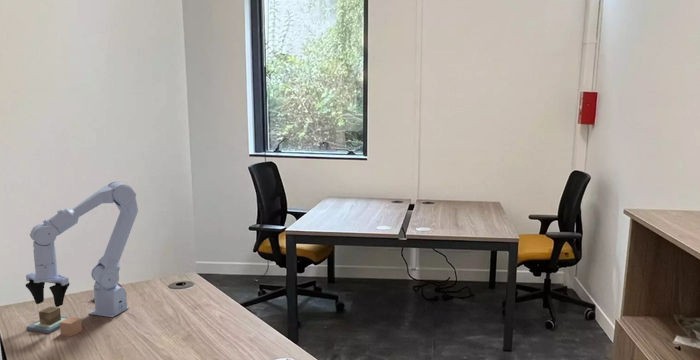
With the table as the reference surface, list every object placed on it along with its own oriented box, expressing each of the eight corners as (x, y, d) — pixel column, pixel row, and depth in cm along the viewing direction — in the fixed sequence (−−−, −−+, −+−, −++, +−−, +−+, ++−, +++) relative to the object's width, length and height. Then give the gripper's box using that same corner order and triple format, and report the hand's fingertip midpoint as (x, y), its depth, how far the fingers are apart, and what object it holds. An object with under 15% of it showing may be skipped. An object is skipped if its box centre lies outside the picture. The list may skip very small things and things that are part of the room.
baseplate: (74, 321, 156) (73, 317, 155) (50, 333, 147) (49, 329, 147) (51, 317, 158) (51, 314, 158) (26, 329, 149) (26, 325, 149)
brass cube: (60, 319, 154) (59, 308, 153) (50, 325, 150) (49, 313, 149) (50, 318, 155) (49, 306, 154) (39, 323, 151) (38, 311, 150)
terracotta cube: (82, 330, 149) (81, 318, 149) (71, 336, 146) (70, 323, 145) (71, 328, 150) (70, 316, 150) (60, 334, 147) (59, 322, 146)
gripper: (15, 264, 148) (19, 306, 150) (53, 269, 144) (57, 312, 146) (35, 257, 154) (39, 298, 156) (72, 261, 150) (76, 303, 153)
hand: (49, 304), depth 151 cm, fingers open, 7 cm apart
